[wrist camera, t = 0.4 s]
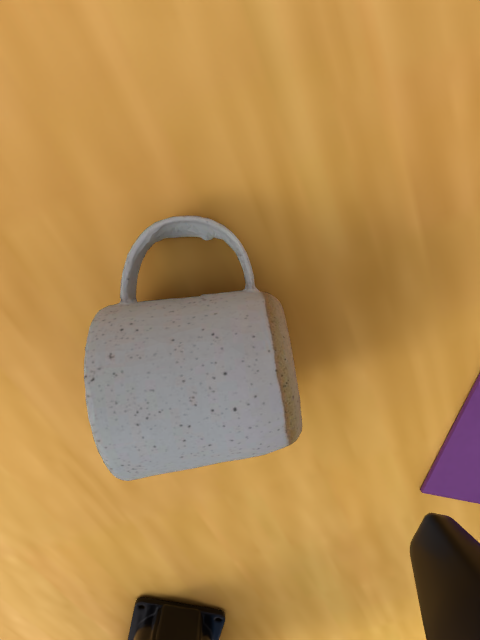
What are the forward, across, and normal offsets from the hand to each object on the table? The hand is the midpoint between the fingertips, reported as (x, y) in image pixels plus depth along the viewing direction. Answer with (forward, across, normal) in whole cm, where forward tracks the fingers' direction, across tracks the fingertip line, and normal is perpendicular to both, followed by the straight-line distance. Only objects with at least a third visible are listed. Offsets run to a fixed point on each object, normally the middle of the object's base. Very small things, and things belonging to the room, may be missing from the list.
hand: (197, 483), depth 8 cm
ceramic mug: (+14, +1, +3) cm, 15 cm away
